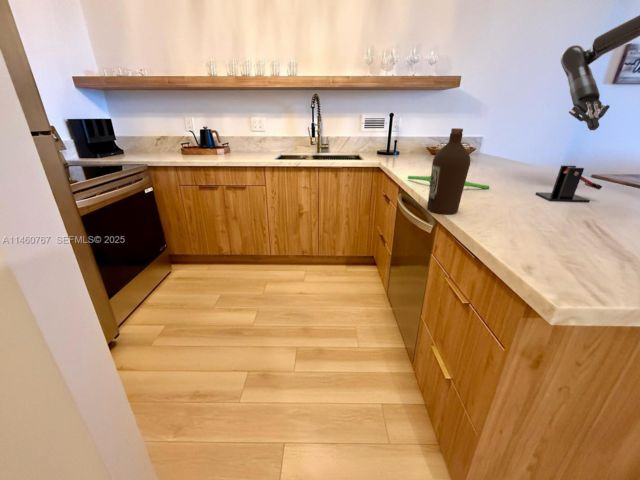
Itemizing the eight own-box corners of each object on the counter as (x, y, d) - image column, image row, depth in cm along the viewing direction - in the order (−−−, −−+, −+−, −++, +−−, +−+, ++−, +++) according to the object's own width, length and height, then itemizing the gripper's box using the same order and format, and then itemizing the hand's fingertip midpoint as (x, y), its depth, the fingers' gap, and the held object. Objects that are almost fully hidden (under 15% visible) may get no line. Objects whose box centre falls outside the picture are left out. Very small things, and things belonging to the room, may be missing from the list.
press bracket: (571, 196, 109) (583, 164, 104) (588, 203, 101) (602, 169, 96) (534, 195, 110) (545, 164, 105) (549, 202, 102) (560, 168, 97)
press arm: (585, 186, 106) (591, 181, 105) (597, 191, 100) (603, 185, 99) (559, 171, 104) (564, 165, 103) (570, 174, 99) (576, 168, 98)
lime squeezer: (488, 189, 119) (492, 173, 116) (486, 195, 110) (491, 179, 107) (408, 179, 135) (409, 165, 132) (400, 184, 125) (402, 170, 123)
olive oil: (454, 205, 98) (470, 127, 88) (464, 216, 89) (483, 130, 78) (422, 204, 100) (434, 127, 89) (428, 214, 90) (443, 129, 80)
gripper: (571, 84, 108) (582, 122, 103) (611, 82, 106) (623, 121, 101) (558, 99, 115) (567, 136, 110) (595, 97, 113) (606, 134, 108)
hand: (594, 128), depth 106 cm, fingers closed
